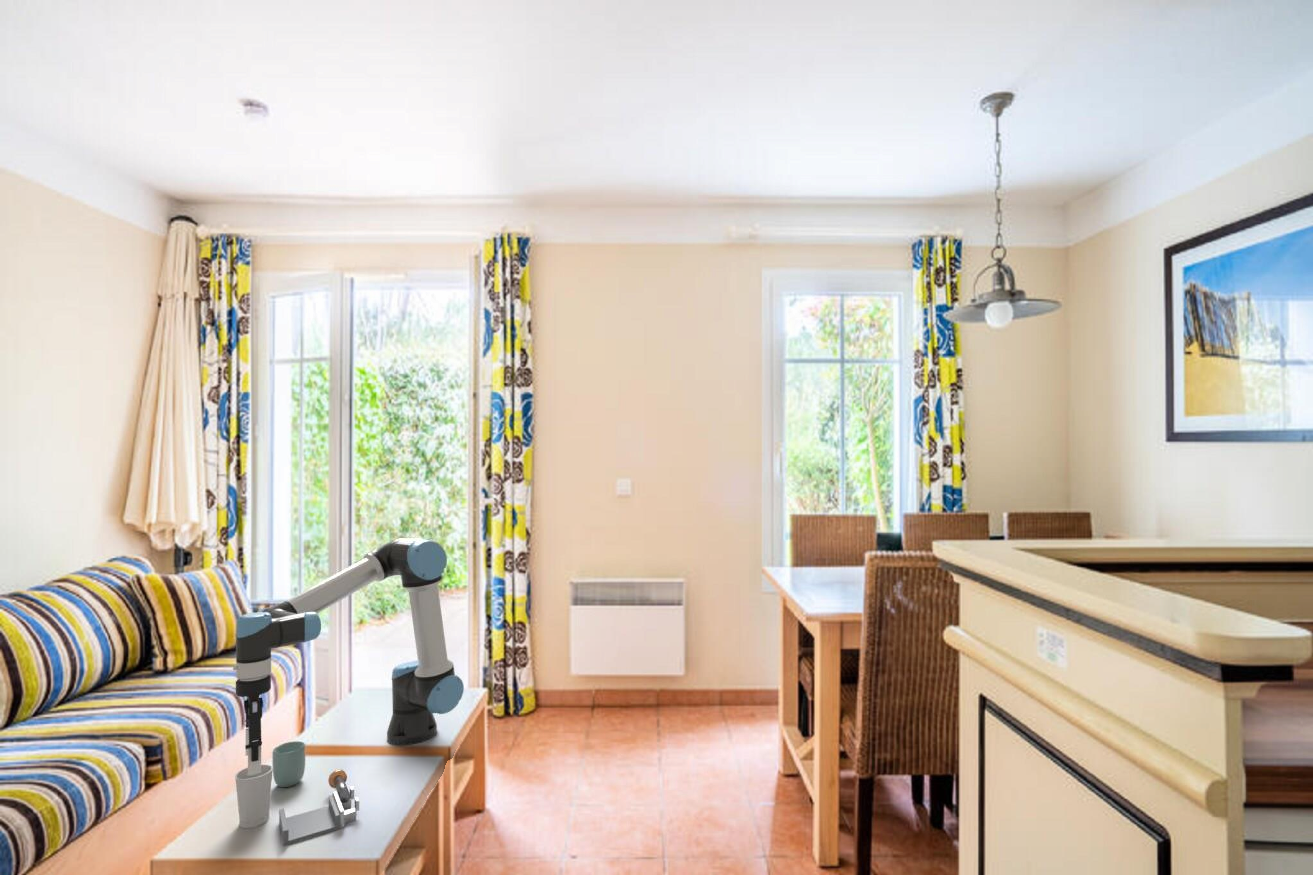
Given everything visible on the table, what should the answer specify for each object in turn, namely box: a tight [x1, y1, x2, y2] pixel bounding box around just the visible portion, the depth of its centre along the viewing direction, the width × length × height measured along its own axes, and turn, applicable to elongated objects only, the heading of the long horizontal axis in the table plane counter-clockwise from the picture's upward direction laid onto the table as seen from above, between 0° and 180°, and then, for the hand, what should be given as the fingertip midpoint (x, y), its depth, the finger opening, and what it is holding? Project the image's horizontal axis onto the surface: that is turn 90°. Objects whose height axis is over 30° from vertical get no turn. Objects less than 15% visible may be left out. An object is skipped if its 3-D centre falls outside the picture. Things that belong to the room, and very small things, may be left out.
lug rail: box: [332, 785, 360, 829], centre depth 166 cm, size 4×12×4 cm, turn 34°
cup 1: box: [235, 764, 273, 829], centre depth 164 cm, size 8×8×12 cm
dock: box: [278, 794, 342, 847], centre depth 161 cm, size 12×12×3 cm
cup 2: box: [271, 740, 306, 788], centre depth 183 cm, size 8×8×10 cm
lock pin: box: [327, 769, 351, 803], centre depth 173 cm, size 13×4×4 cm, turn 34°
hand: (253, 763), depth 164 cm, fingers open, 13 cm apart
